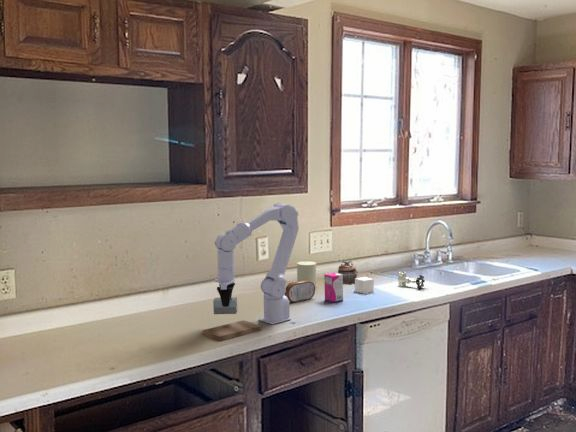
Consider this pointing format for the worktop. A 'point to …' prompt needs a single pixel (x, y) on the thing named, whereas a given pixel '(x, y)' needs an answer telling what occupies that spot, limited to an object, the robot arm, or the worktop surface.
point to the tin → (300, 290)
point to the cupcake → (348, 272)
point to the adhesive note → (364, 285)
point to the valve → (410, 280)
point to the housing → (225, 310)
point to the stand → (231, 330)
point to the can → (306, 271)
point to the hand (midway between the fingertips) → (226, 304)
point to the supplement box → (333, 287)
